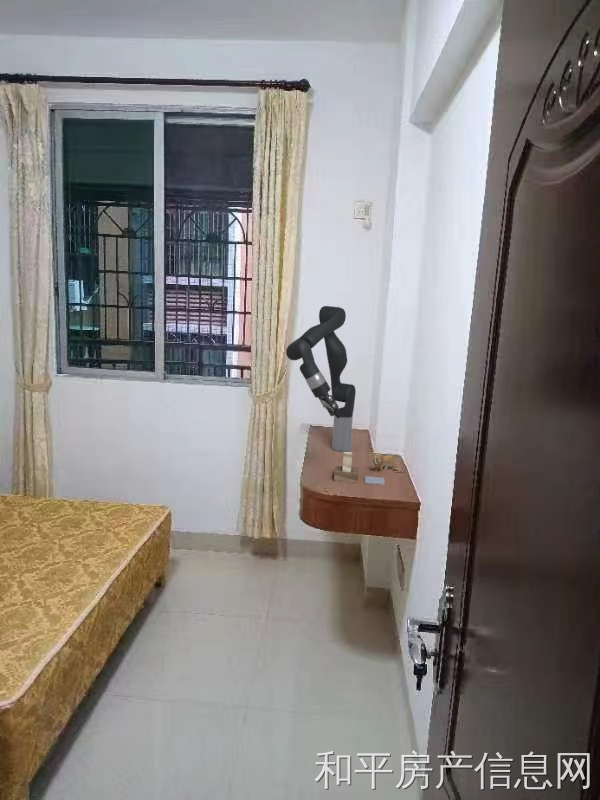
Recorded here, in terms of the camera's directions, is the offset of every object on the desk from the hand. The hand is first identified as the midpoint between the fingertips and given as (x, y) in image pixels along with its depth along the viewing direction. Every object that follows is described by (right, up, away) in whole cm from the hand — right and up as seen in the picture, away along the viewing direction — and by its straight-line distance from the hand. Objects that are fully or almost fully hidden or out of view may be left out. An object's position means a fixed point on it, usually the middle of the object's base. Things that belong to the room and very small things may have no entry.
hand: (336, 416), depth 253 cm
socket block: (+4, -26, 0) cm, 27 cm away
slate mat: (+16, -27, -2) cm, 32 cm away
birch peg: (+4, -26, 0) cm, 27 cm away
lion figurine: (+22, -25, +13) cm, 35 cm away
